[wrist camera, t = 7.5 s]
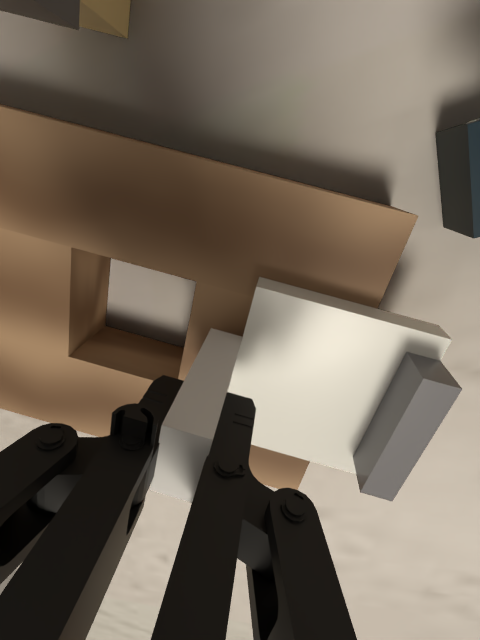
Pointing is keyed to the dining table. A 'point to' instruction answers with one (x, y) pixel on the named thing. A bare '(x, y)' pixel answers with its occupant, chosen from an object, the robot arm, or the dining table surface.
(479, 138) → the watch
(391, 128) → the dining table surface
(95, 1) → the plug
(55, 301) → the socket board
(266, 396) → the plate
